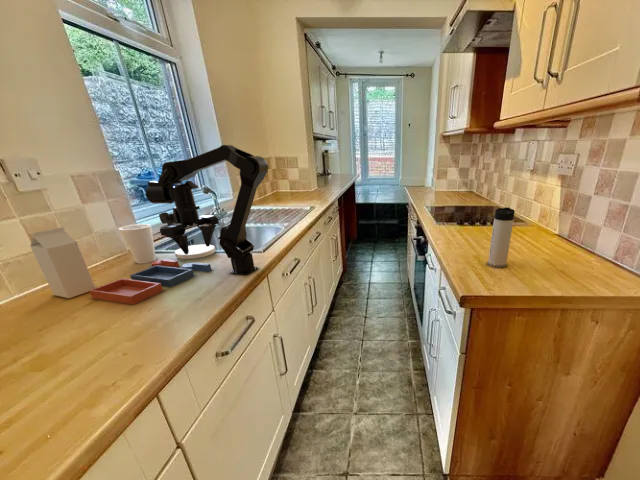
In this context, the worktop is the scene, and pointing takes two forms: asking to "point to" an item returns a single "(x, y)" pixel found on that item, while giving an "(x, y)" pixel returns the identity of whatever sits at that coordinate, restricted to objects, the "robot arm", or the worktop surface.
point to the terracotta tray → (126, 291)
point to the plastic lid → (195, 251)
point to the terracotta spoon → (166, 263)
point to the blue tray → (164, 275)
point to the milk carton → (61, 262)
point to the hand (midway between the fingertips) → (197, 250)
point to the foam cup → (139, 242)
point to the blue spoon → (198, 266)
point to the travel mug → (501, 237)
